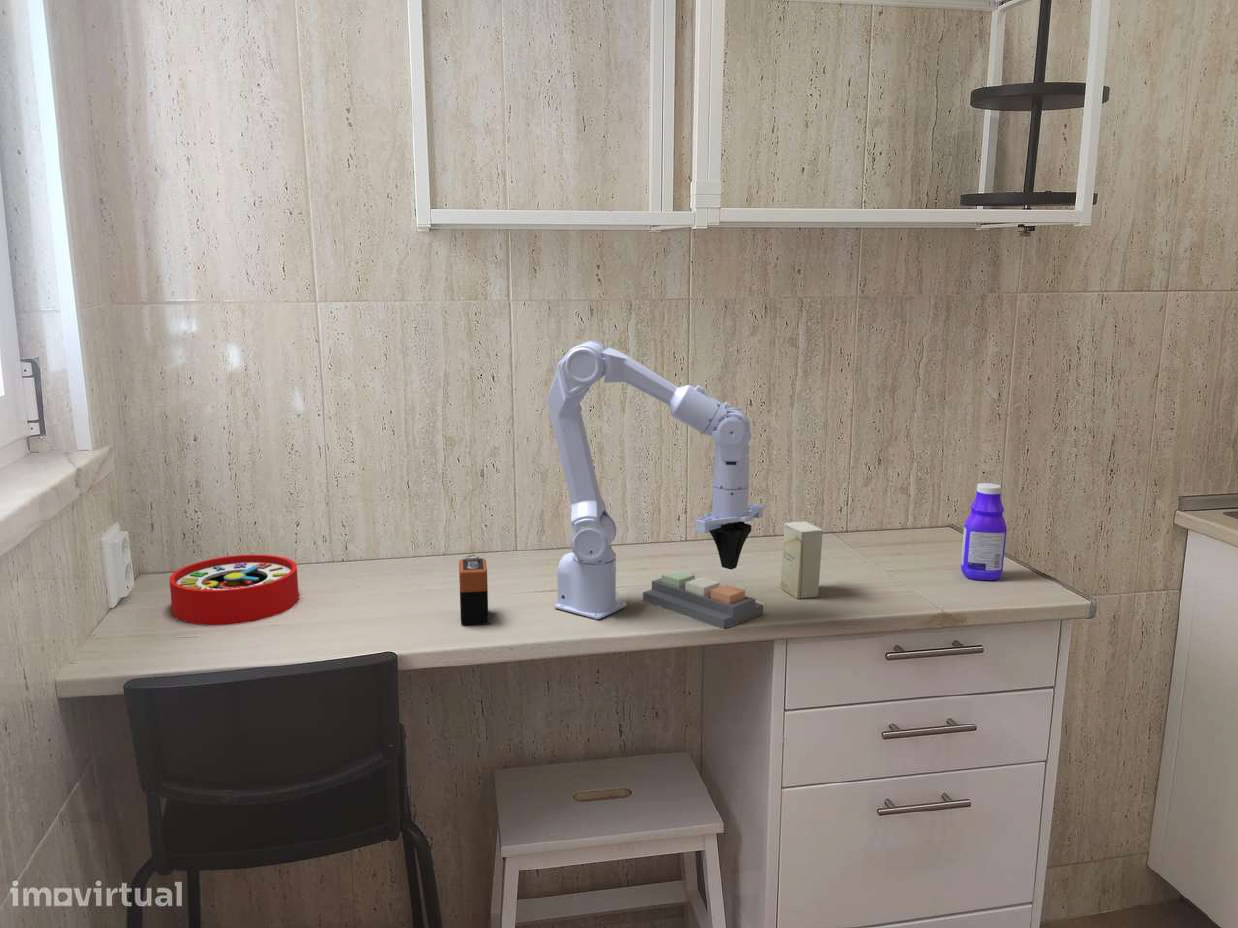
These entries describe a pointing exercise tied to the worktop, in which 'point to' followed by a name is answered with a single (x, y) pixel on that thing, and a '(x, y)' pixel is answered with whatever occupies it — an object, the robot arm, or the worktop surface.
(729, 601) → the terracotta button
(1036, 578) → the worktop surface
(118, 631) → the worktop surface
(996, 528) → the bottle
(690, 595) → the button panel
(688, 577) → the green button
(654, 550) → the worktop surface
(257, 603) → the toy clock
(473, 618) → the battery
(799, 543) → the skincare box
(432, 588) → the worktop surface
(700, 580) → the cream button
